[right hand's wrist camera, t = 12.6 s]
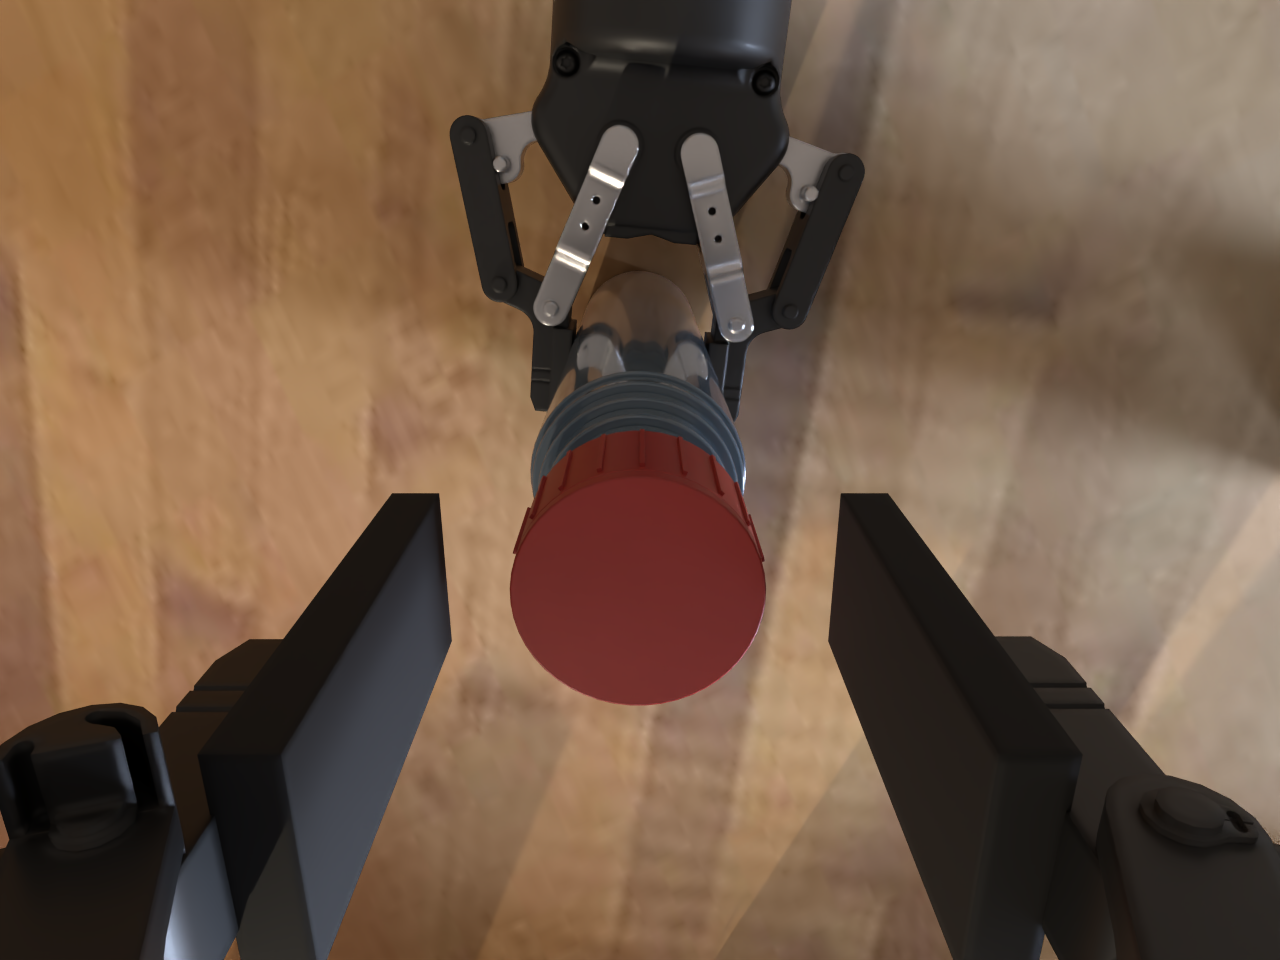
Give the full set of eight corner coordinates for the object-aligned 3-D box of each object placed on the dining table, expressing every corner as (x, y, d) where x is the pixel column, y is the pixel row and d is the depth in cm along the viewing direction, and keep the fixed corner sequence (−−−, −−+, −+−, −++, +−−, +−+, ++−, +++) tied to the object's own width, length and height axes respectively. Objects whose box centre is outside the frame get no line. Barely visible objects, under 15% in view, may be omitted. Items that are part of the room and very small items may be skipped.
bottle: (681, 391, 39) (744, 730, 15) (574, 370, 38) (473, 684, 15) (705, 283, 37) (817, 478, 14) (594, 260, 37) (515, 420, 13)
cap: (721, 651, 17) (734, 728, 15) (509, 613, 17) (488, 686, 15) (775, 451, 16) (799, 502, 13) (545, 407, 15) (528, 450, 13)
